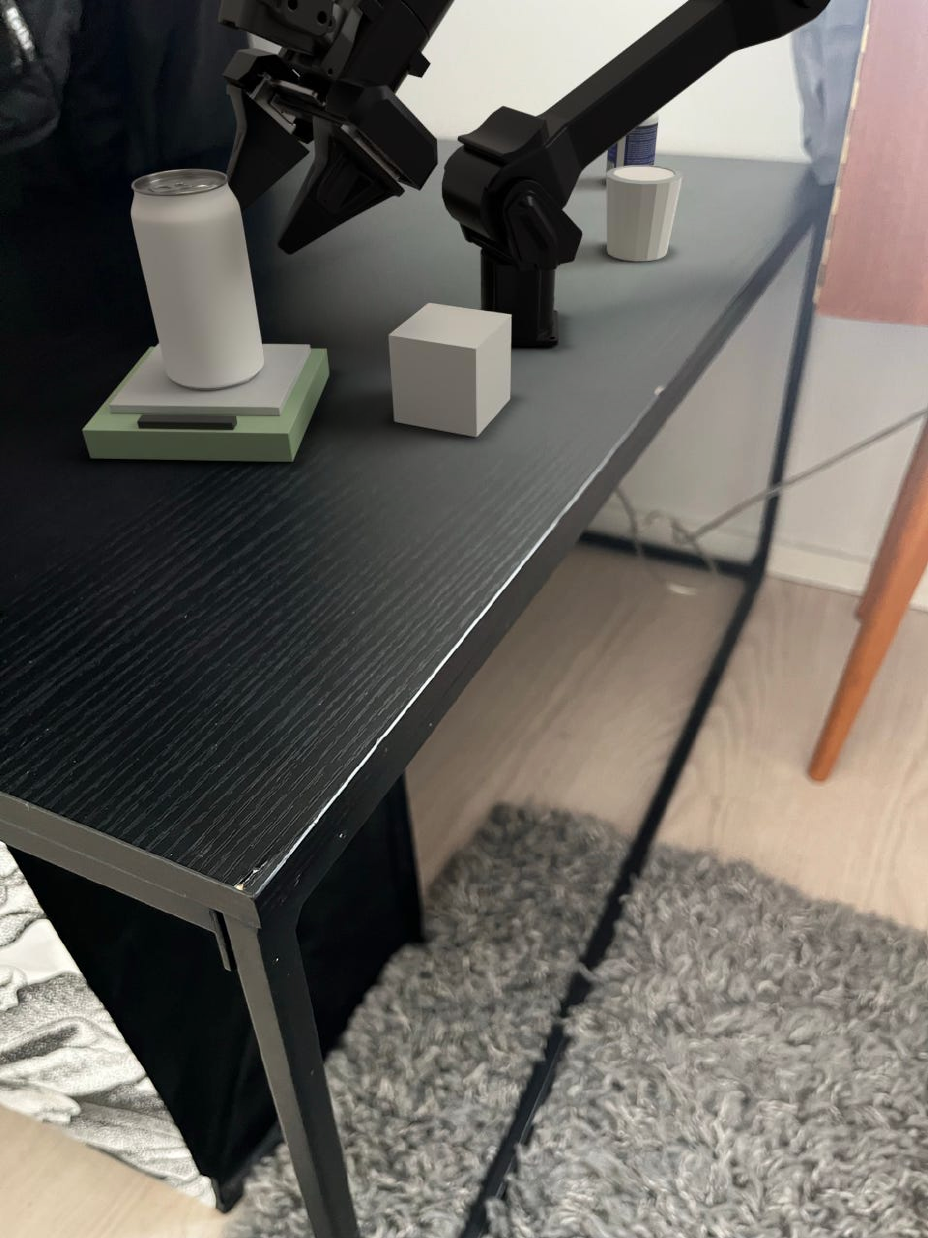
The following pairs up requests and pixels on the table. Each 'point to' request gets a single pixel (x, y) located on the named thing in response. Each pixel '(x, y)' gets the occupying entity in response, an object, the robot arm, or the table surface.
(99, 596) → the table surface
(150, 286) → the can
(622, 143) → the pill bottle
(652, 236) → the white cup
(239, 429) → the scale
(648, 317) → the table surface
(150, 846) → the table surface
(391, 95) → the robot arm
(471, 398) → the white cube
